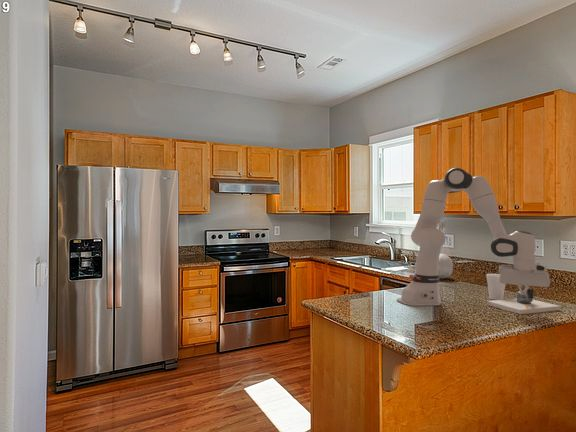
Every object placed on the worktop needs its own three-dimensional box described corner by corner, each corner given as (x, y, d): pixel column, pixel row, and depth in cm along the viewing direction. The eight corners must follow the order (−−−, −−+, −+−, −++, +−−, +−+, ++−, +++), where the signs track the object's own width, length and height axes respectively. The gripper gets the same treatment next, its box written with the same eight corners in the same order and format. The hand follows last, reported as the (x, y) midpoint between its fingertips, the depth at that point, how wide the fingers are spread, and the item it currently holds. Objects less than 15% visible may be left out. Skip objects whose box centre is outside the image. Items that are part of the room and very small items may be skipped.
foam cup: (495, 301, 192) (496, 276, 192) (482, 297, 201) (482, 274, 201) (510, 300, 195) (510, 276, 195) (496, 296, 204) (496, 273, 204)
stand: (519, 314, 167) (520, 309, 167) (487, 304, 185) (487, 300, 185) (559, 310, 176) (560, 305, 176) (525, 301, 193) (525, 297, 193)
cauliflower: (426, 264, 284) (428, 241, 272) (456, 279, 267) (460, 256, 255) (409, 277, 274) (411, 254, 263) (439, 293, 257) (443, 270, 245)
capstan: (515, 300, 186) (515, 283, 186) (529, 301, 183) (529, 284, 183) (523, 307, 170) (523, 289, 170) (538, 309, 168) (538, 290, 168)
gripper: (499, 264, 173) (499, 293, 173) (551, 267, 165) (550, 298, 165) (497, 263, 179) (497, 291, 179) (547, 265, 171) (547, 295, 171)
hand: (523, 294), depth 172 cm, fingers closed
